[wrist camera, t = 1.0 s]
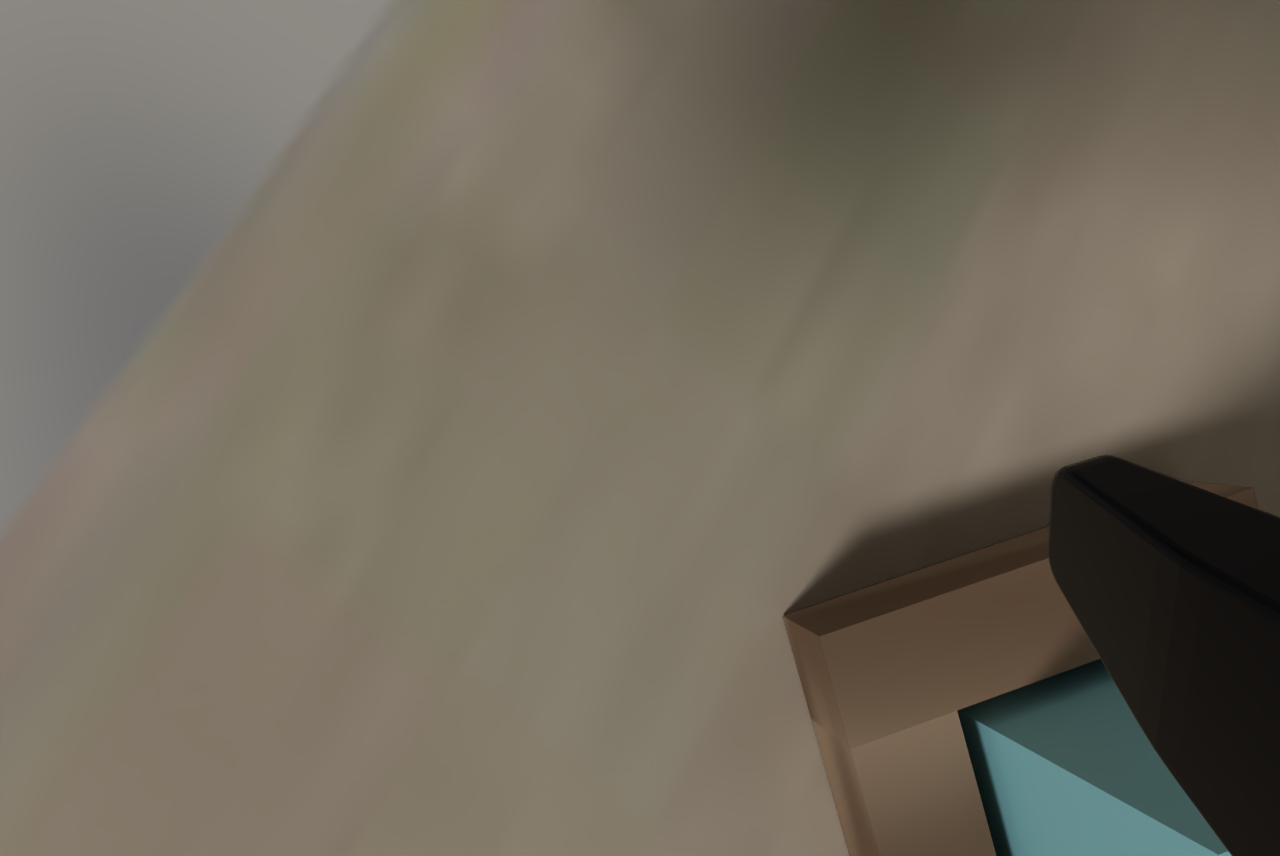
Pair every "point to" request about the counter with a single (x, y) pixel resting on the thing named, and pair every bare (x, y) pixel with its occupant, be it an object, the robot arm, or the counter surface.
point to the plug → (1077, 774)
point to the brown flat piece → (931, 686)
